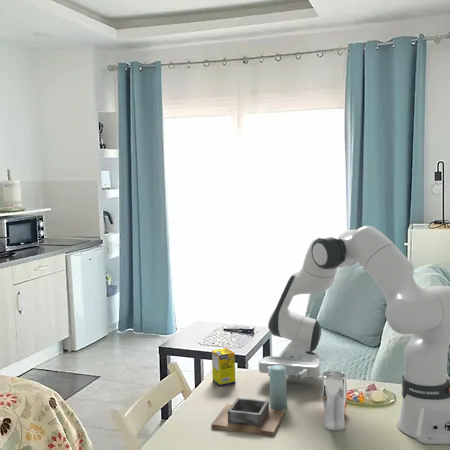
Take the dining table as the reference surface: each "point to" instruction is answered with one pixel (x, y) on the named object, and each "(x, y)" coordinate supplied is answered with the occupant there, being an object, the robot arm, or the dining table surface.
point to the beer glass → (334, 399)
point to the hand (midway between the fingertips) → (284, 375)
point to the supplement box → (223, 366)
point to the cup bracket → (249, 417)
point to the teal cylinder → (278, 387)
